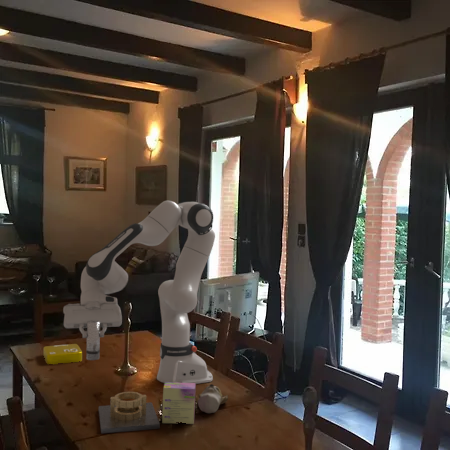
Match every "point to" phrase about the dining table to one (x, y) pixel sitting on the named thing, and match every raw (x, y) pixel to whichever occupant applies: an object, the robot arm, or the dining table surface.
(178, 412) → the box
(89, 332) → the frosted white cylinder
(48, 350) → the element tile
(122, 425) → the collar stand
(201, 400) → the ceramic sculpture
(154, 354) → the dining table surface
